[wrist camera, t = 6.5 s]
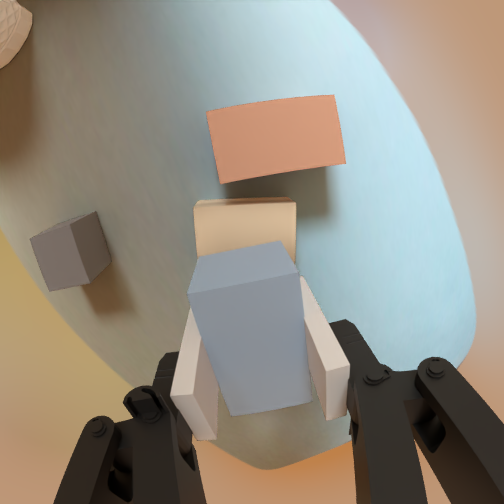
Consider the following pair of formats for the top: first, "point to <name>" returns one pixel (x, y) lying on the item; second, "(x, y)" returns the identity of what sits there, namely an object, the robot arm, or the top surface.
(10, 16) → the white cup
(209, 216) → the maple block
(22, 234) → the top surface
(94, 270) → the charcoal block
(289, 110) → the terracotta block
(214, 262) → the blue block
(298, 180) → the top surface
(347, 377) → the robot arm
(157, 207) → the top surface
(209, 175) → the top surface
